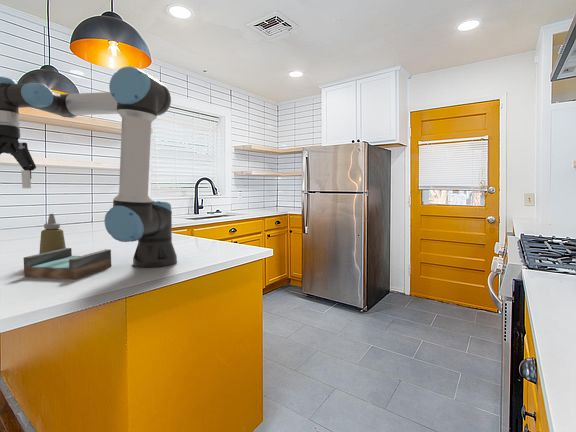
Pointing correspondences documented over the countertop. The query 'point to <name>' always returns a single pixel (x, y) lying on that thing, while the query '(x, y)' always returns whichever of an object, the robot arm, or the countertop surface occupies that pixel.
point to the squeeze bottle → (51, 236)
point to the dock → (65, 264)
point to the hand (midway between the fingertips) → (9, 188)
